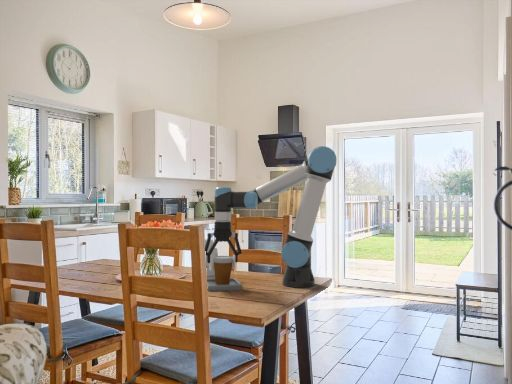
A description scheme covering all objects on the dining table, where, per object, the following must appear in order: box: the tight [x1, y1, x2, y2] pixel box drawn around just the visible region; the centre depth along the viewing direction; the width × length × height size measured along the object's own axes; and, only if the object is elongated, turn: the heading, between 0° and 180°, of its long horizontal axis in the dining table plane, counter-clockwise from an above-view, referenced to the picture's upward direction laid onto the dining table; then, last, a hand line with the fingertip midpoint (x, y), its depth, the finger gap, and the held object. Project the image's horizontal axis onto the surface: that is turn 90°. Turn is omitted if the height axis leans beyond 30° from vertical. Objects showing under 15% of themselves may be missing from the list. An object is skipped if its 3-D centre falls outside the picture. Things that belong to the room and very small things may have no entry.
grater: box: [204, 238, 219, 279], centre depth 217 cm, size 10×10×20 cm
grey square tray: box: [207, 277, 243, 292], centre depth 200 cm, size 15×15×2 cm
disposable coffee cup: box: [213, 255, 233, 285], centre depth 200 cm, size 10×10×12 cm
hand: (222, 269), depth 200 cm, fingers open, 10 cm apart
